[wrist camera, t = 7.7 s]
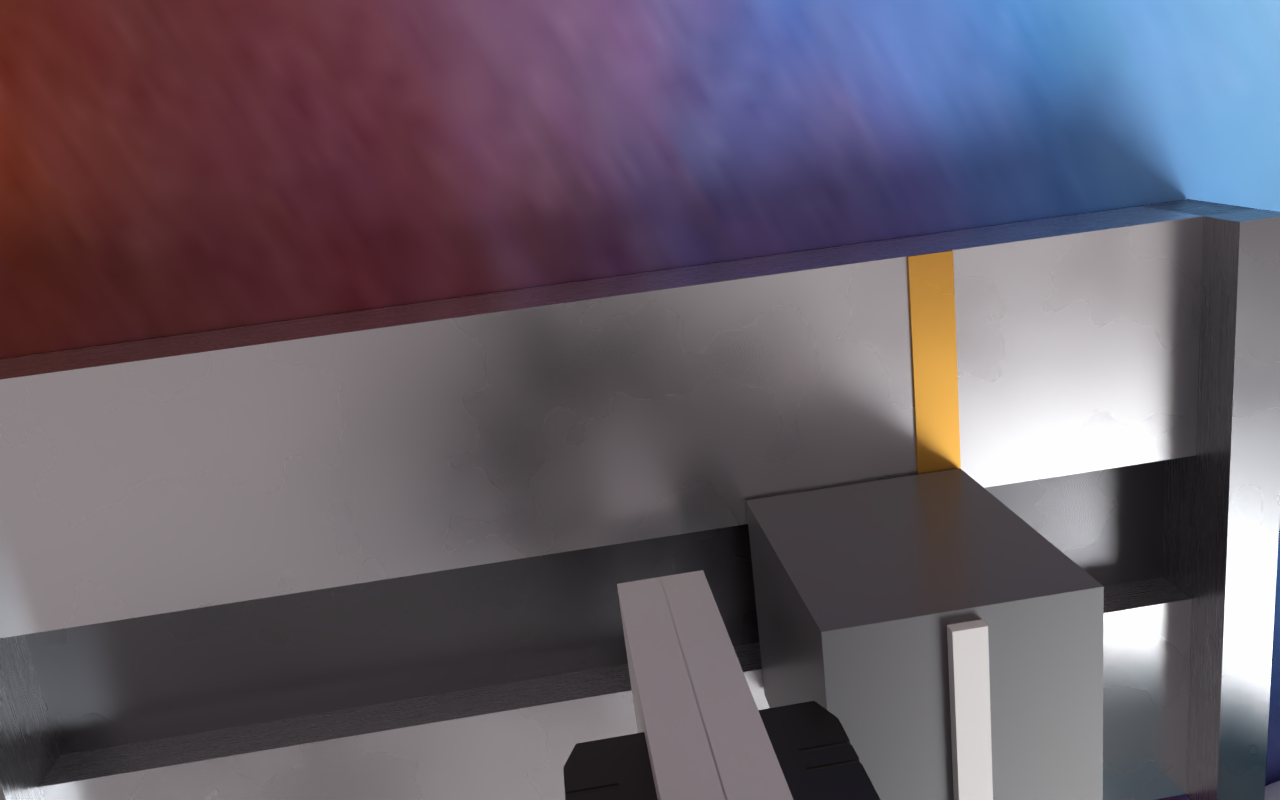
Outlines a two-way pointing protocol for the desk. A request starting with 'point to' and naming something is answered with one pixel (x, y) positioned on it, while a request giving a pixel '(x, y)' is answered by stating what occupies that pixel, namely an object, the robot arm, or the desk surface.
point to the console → (623, 502)
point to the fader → (934, 637)
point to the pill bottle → (1272, 791)
